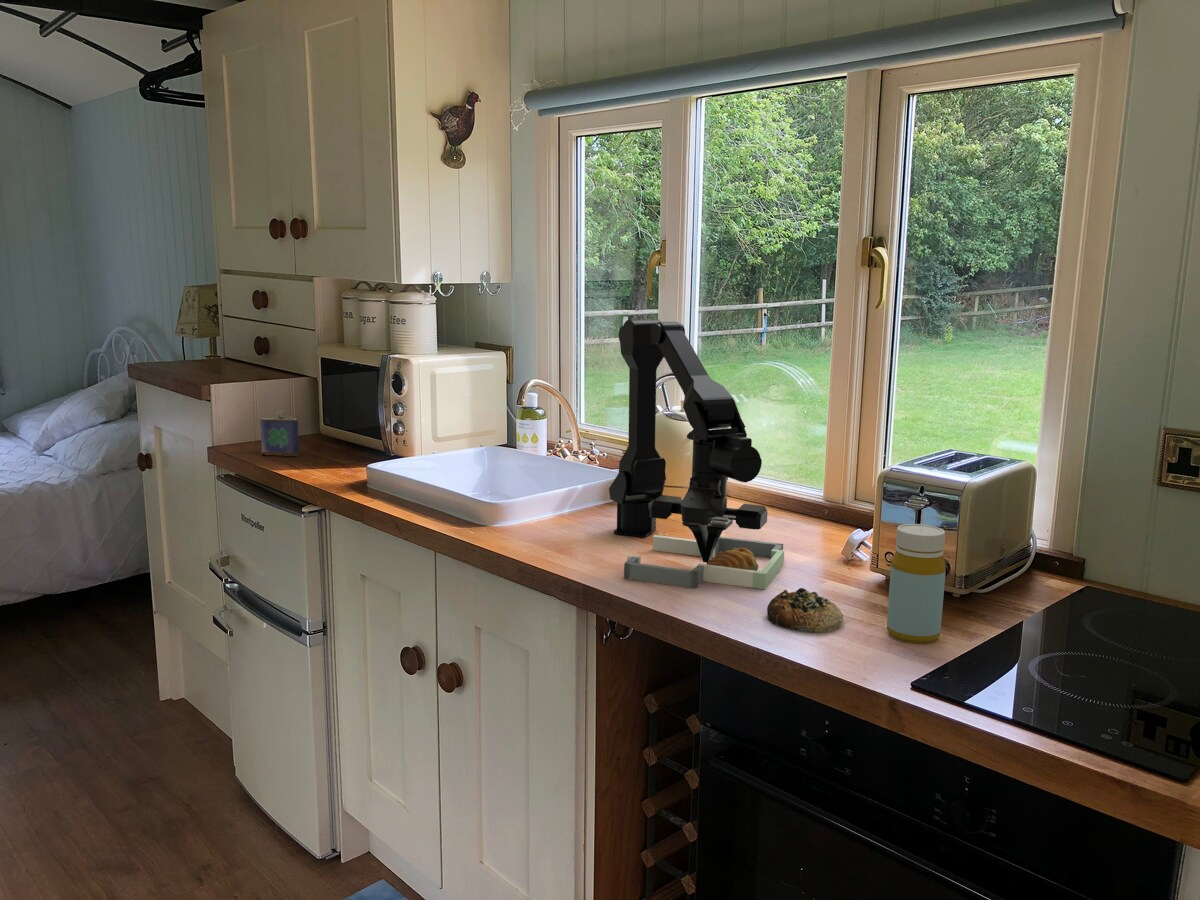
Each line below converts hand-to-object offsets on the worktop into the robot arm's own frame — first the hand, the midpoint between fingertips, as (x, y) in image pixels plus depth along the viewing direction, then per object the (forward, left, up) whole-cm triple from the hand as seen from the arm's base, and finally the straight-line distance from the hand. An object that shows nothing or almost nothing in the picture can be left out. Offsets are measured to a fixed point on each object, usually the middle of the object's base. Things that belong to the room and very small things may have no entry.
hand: (706, 561), depth 164 cm
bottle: (+35, -18, -1) cm, 39 cm away
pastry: (+5, -1, -1) cm, 5 cm away
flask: (-126, +47, -1) cm, 135 cm away
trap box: (0, 0, -1) cm, 1 cm away
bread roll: (+20, -18, -2) cm, 27 cm away
